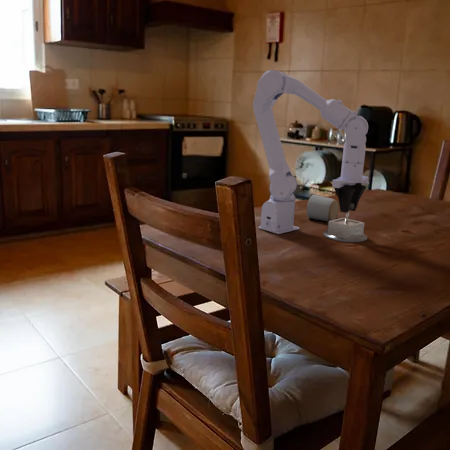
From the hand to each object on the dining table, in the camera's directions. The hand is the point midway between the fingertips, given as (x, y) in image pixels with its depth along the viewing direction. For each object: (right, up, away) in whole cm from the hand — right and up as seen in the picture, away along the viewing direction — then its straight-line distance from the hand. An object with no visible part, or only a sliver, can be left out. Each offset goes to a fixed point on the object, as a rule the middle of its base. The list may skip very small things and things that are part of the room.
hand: (347, 211), depth 140 cm
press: (0, -7, +2) cm, 7 cm away
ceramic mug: (-3, -2, +21) cm, 21 cm away
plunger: (0, -4, +1) cm, 4 cm away
